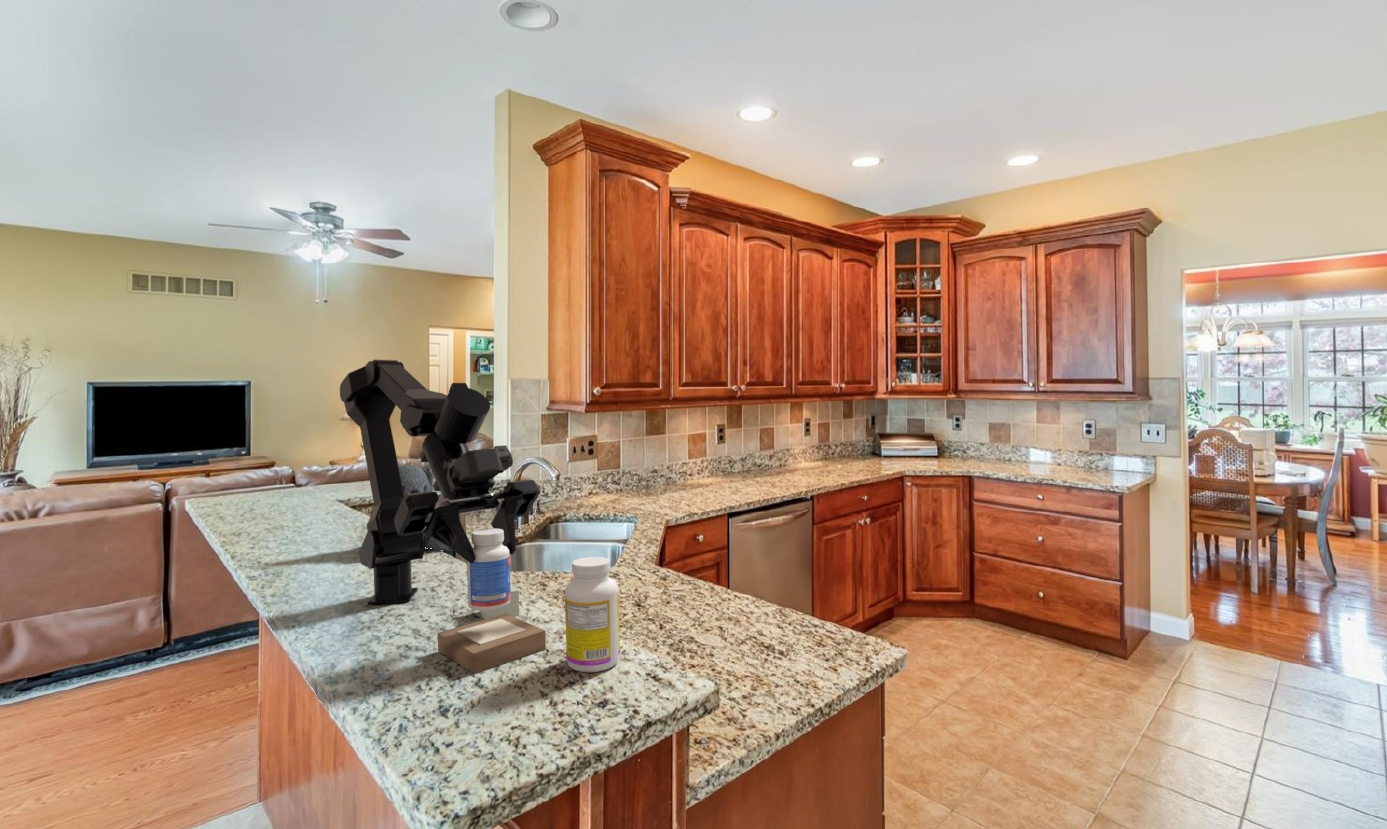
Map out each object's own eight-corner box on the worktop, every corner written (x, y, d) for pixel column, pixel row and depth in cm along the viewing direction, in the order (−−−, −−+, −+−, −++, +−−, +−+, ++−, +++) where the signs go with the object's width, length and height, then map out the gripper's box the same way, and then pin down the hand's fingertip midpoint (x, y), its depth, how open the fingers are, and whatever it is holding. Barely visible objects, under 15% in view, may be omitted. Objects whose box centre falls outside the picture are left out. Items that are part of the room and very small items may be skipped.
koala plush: (372, 562, 131) (369, 468, 130) (359, 546, 146) (356, 461, 145) (458, 549, 141) (456, 461, 141) (438, 535, 156) (435, 456, 155)
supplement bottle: (590, 648, 84) (588, 552, 84) (630, 658, 81) (628, 558, 80) (554, 667, 78) (552, 564, 78) (596, 679, 75) (594, 571, 75)
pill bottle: (517, 605, 83) (516, 531, 83) (477, 615, 80) (476, 538, 80) (500, 595, 88) (499, 525, 87) (461, 604, 84) (459, 531, 84)
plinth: (438, 651, 84) (437, 631, 84) (506, 630, 91) (506, 612, 91) (474, 674, 77) (473, 652, 77) (545, 649, 84) (545, 629, 84)
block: (479, 612, 99) (478, 587, 99) (511, 607, 102) (511, 582, 102) (485, 622, 95) (484, 596, 95) (519, 616, 97) (518, 590, 97)
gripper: (400, 430, 79) (442, 531, 72) (532, 423, 92) (578, 508, 85) (378, 487, 85) (414, 586, 78) (505, 473, 98) (546, 556, 91)
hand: (493, 556), depth 83 cm, fingers closed on pill bottle, 5 cm apart
